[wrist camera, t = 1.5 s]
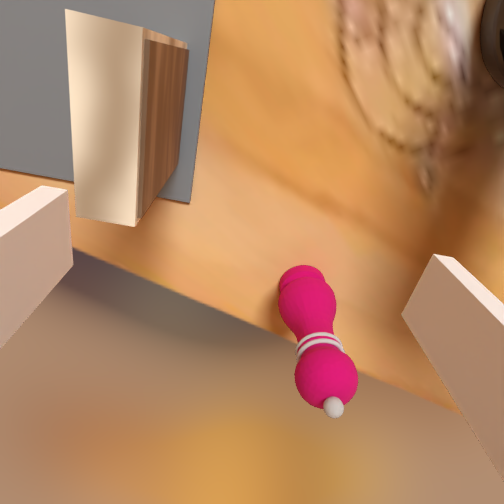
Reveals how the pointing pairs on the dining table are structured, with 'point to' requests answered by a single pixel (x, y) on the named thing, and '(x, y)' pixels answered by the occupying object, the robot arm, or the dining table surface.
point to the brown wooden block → (122, 114)
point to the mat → (57, 80)
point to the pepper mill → (316, 340)
